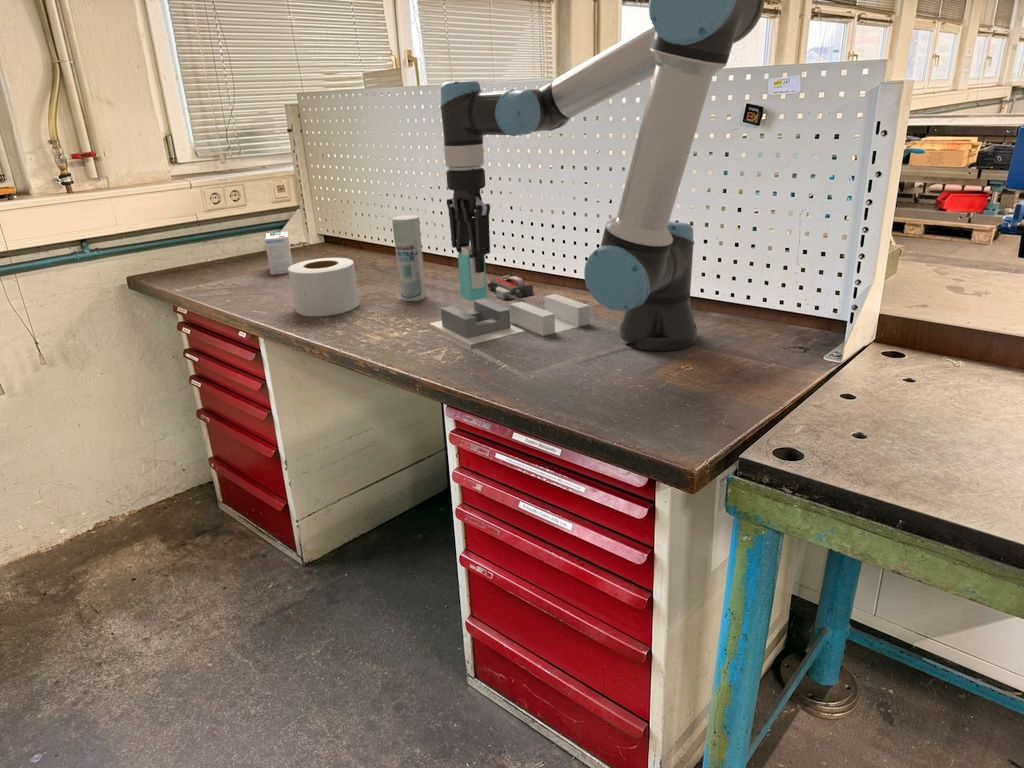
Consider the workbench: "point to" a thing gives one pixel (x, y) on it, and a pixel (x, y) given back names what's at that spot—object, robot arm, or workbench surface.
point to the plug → (469, 277)
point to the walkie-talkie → (510, 288)
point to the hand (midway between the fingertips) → (472, 285)
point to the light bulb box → (278, 252)
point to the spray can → (409, 257)
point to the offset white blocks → (550, 315)
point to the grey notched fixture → (475, 323)
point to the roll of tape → (324, 286)
